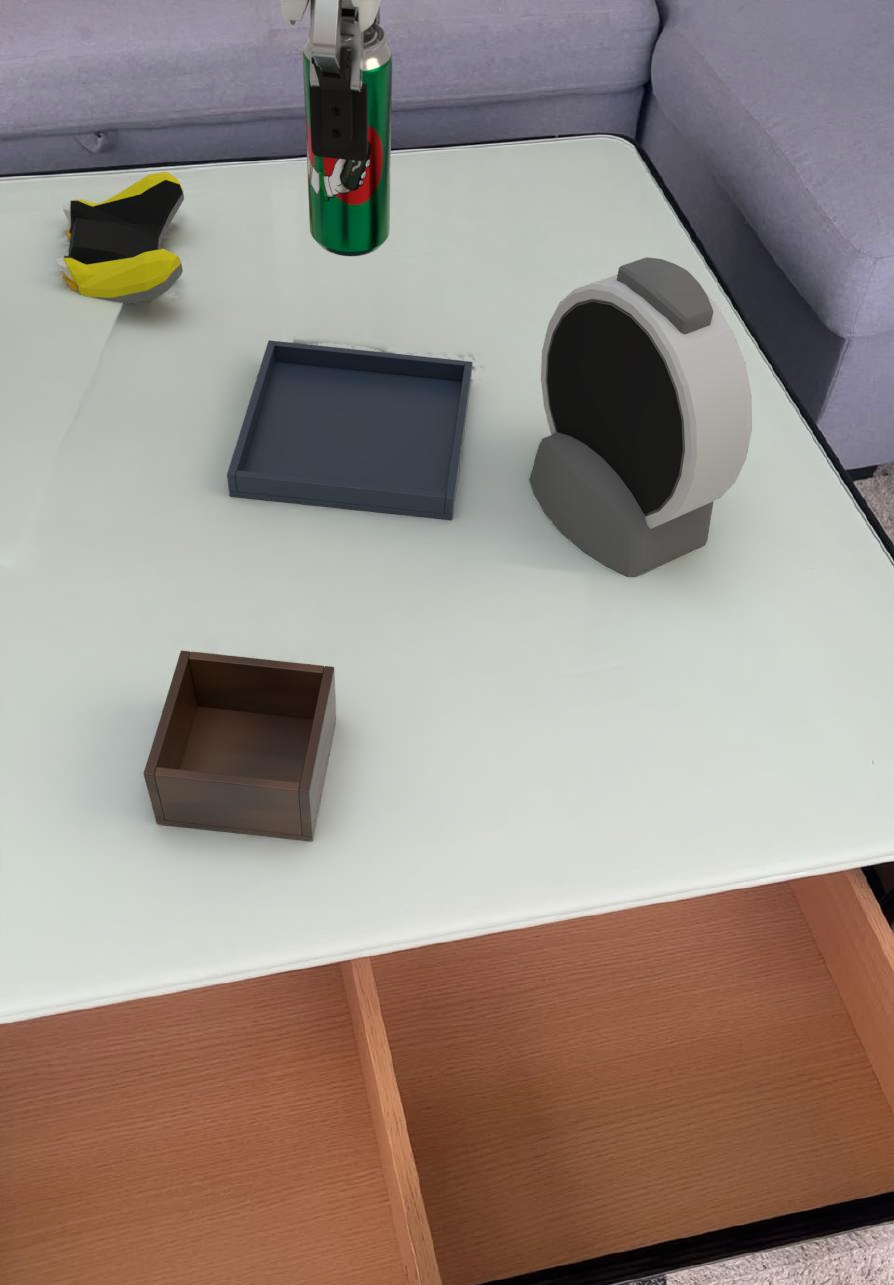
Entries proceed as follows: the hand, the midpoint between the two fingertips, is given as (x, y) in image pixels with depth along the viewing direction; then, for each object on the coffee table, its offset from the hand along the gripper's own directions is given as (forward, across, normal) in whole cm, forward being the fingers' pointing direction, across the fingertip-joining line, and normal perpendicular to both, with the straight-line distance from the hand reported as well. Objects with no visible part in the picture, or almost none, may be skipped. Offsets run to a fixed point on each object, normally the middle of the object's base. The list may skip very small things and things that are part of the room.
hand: (347, 128), depth 70 cm
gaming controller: (+24, -19, -22) cm, 38 cm away
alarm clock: (+24, +4, +20) cm, 31 cm away
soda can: (+7, 0, 0) cm, 7 cm away
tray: (+23, -1, 0) cm, 23 cm away
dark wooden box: (+23, +31, -2) cm, 39 cm away
